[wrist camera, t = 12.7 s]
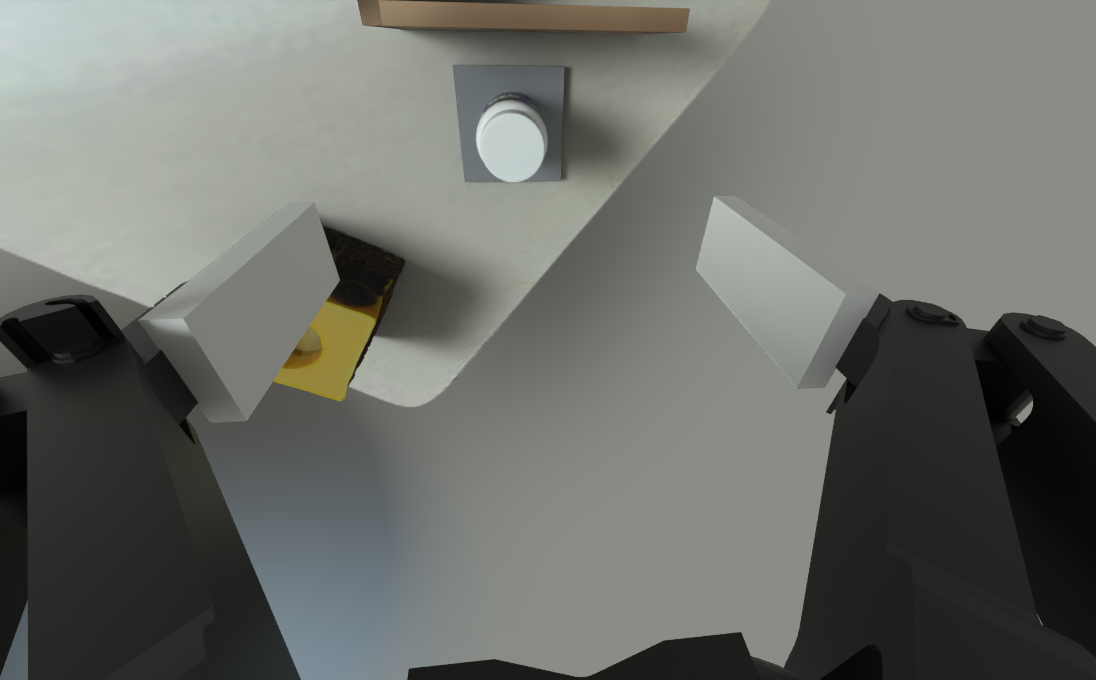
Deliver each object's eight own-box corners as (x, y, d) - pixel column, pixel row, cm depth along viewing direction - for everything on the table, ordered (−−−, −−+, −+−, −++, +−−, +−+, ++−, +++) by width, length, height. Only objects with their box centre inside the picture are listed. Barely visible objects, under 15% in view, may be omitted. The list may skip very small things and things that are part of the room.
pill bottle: (545, 96, 30) (558, 112, 24) (536, 162, 33) (545, 193, 26) (481, 85, 30) (476, 98, 23) (477, 154, 32) (472, 183, 26)
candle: (407, 258, 38) (382, 317, 30) (375, 337, 43) (346, 405, 35) (287, 207, 34) (222, 258, 26) (268, 299, 39) (207, 366, 31)
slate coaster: (453, 64, 29) (452, 65, 29) (563, 66, 30) (564, 66, 29) (465, 179, 34) (464, 181, 34) (559, 178, 35) (560, 180, 34)
